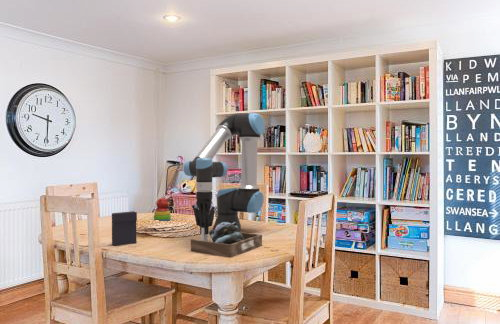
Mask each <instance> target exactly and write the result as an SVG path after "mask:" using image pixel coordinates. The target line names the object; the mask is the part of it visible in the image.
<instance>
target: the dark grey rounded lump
mask: <svg viewBox="0 0 500 324" xmlns="http://www.w3.org/2000/svg"><path fill="white" fill-rule="evenodd" d="M240 232H241V231H240V230H239V228H238V224H237V223H236V222H234V223H232V222H231V221H229V220H228V221H227V222H222V223H220V224H218V225H214V224H213V225H212V229H210V230H209V233H208V235H209V237H210V239H211V242H216V243H223V244H233V243H236V242H239V241H242V240H244V236H243V235H242V234H241V233H242V232H241V233H240Z"/></svg>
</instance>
